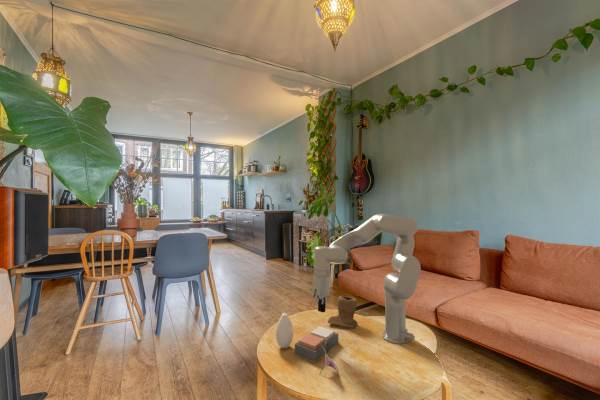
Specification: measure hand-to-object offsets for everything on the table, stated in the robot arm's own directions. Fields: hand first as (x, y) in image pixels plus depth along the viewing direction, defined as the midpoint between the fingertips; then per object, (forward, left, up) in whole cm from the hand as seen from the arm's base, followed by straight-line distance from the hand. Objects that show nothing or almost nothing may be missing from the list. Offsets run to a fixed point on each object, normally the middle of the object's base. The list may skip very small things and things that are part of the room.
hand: (321, 311), depth 131 cm
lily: (-14, +17, -16) cm, 27 cm away
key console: (0, +4, -16) cm, 16 cm away
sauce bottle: (+13, +12, -16) cm, 24 cm away
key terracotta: (0, +9, -12) cm, 15 cm away
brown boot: (+2, -26, -16) cm, 30 cm away
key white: (0, 0, -12) cm, 12 cm away
